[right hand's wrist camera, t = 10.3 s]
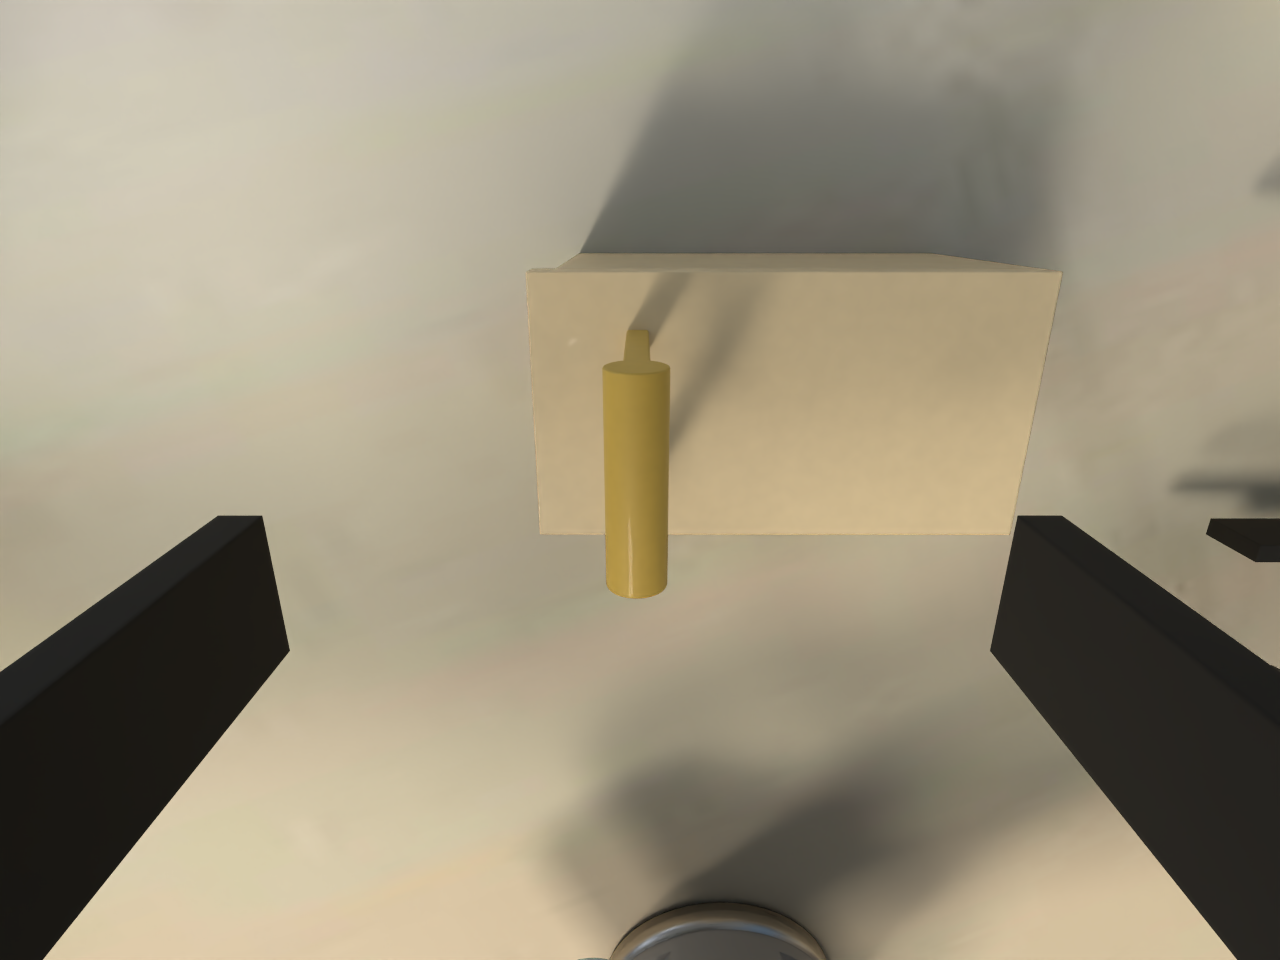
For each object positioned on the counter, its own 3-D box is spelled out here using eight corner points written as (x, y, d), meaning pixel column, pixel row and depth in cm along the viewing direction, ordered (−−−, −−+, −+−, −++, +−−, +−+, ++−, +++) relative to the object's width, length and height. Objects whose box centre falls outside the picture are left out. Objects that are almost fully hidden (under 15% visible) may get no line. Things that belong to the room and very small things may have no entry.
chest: (584, 443, 35) (564, 520, 26) (578, 253, 32) (554, 268, 23) (905, 443, 35) (993, 520, 26) (931, 253, 32) (1041, 268, 23)
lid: (544, 520, 26) (501, 654, 18) (531, 268, 23) (473, 297, 15) (994, 520, 26) (1148, 655, 18) (1042, 268, 23) (1254, 297, 15)
